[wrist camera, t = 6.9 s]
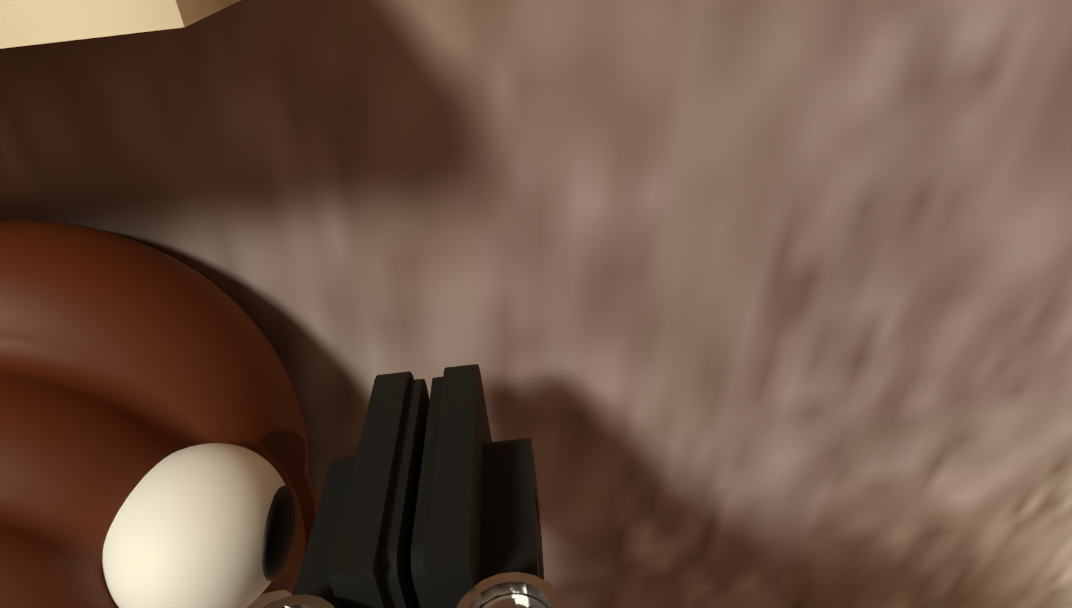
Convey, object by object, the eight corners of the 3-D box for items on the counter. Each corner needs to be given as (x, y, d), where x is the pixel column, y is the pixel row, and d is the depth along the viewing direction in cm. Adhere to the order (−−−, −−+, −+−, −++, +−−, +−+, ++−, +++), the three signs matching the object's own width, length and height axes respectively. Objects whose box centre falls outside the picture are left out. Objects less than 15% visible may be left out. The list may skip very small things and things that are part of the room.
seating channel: (255, -145, 10) (124, -159, 6) (456, 645, 18) (447, 824, 15) (-597, -44, 10) (-1201, -2, 6) (4, 695, 18) (-109, 884, 15)
